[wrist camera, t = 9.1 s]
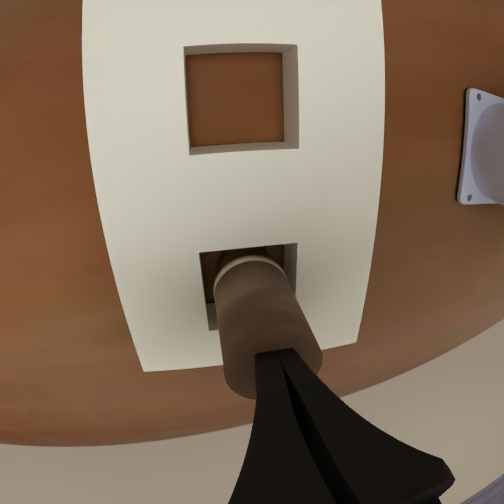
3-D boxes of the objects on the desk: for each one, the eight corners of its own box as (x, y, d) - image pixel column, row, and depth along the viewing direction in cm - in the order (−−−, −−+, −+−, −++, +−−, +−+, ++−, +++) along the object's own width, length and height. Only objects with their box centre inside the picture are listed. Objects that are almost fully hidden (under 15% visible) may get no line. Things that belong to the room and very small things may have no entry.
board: (356, -2, 12) (379, -13, 10) (341, 318, 21) (356, 342, 19) (98, 2, 11) (83, -13, 8) (147, 343, 20) (143, 371, 17)
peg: (276, 231, 18) (329, 325, 11) (274, 288, 19) (316, 392, 12) (208, 236, 17) (221, 338, 10) (212, 293, 19) (226, 405, 12)
